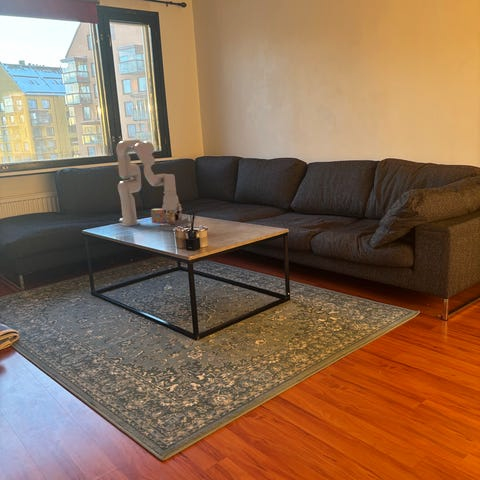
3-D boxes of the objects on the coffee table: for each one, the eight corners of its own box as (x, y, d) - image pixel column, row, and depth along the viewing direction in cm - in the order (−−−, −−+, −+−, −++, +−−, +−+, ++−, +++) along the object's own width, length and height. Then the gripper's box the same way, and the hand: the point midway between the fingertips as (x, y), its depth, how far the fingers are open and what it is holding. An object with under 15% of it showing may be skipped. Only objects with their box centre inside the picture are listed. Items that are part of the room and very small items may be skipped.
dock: (158, 230, 324) (157, 222, 323) (171, 225, 338) (170, 217, 337) (176, 230, 318) (176, 222, 317) (188, 225, 333) (188, 217, 331)
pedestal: (166, 223, 326) (165, 213, 325) (171, 222, 332) (170, 211, 330) (174, 224, 324) (173, 213, 322) (179, 222, 329) (178, 211, 327)
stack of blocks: (151, 222, 354) (149, 205, 351) (155, 221, 360) (153, 204, 357) (179, 222, 349) (177, 205, 346) (182, 220, 354) (181, 203, 352)
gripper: (156, 194, 323) (158, 220, 327) (178, 194, 316) (181, 221, 320) (162, 192, 330) (164, 218, 334) (184, 192, 323) (186, 219, 327)
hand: (172, 219), depth 327 cm, fingers closed on pedestal, 5 cm apart
